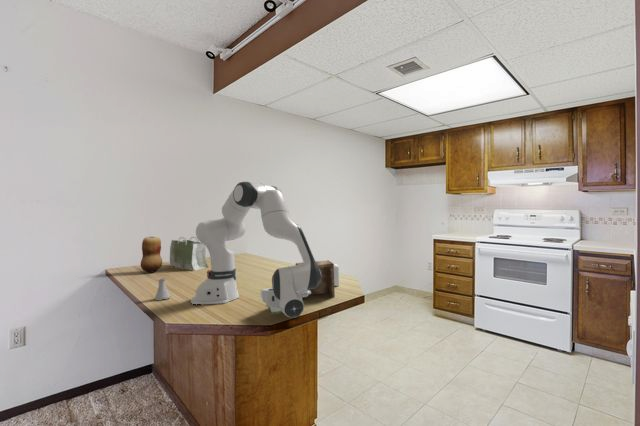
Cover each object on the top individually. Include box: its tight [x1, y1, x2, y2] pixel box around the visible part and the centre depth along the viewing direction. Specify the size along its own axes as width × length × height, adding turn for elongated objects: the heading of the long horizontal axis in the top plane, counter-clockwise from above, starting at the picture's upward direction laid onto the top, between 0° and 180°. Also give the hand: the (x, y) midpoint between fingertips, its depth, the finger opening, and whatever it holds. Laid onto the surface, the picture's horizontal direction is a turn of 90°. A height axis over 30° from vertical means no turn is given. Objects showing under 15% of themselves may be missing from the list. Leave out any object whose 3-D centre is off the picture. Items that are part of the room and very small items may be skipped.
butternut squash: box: [140, 236, 163, 273], centre depth 222 cm, size 14×13×25 cm
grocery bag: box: [169, 236, 209, 272], centre depth 236 cm, size 32×14×23 cm, turn 54°
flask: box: [154, 277, 171, 301], centre depth 158 cm, size 7×7×10 cm
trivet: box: [268, 306, 282, 314], centre depth 140 cm, size 12×12×1 cm
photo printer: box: [333, 263, 340, 287], centre depth 171 cm, size 10×4×12 cm, turn 103°
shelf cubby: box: [295, 259, 336, 301], centre depth 153 cm, size 17×9×16 cm, turn 105°
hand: (282, 287), depth 141 cm, fingers open, 7 cm apart
